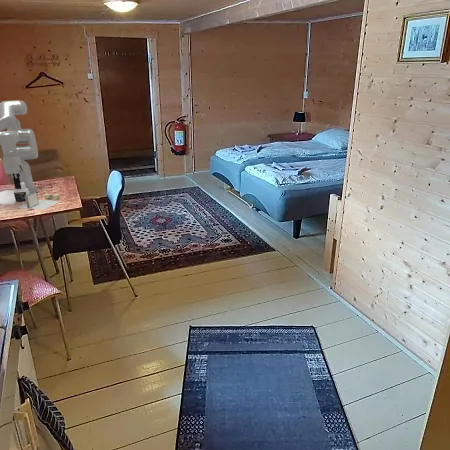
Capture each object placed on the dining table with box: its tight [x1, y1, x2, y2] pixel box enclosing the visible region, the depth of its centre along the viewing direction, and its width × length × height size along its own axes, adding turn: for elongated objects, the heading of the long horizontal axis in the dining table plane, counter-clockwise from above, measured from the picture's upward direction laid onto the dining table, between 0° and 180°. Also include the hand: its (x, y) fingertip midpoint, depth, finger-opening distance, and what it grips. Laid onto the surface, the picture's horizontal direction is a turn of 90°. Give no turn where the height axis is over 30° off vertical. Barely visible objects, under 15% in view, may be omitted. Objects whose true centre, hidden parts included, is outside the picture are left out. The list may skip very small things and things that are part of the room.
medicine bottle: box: [13, 182, 30, 203], centre depth 261 cm, size 7×7×12 cm
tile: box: [25, 191, 39, 209], centre depth 247 cm, size 2×8×8 cm, turn 162°
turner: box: [43, 193, 61, 201], centre depth 260 cm, size 16×5×4 cm, turn 72°
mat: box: [16, 199, 61, 210], centre depth 252 cm, size 20×16×1 cm
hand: (17, 184), depth 246 cm, fingers closed
